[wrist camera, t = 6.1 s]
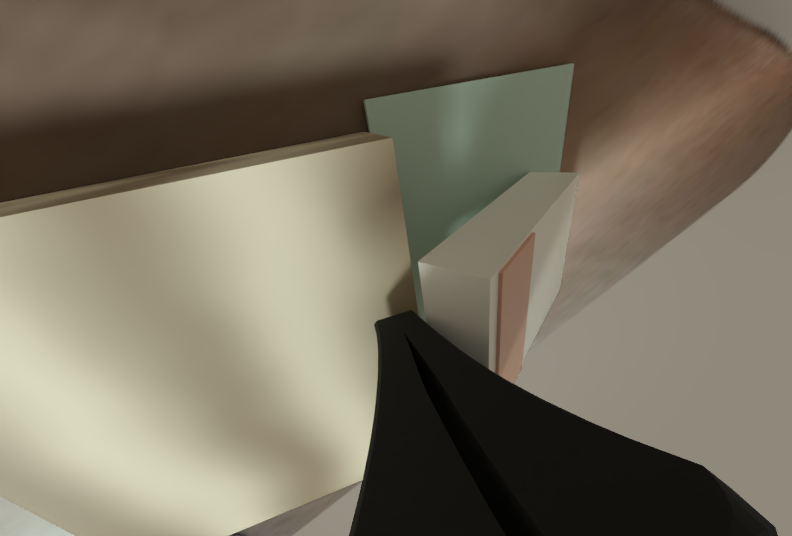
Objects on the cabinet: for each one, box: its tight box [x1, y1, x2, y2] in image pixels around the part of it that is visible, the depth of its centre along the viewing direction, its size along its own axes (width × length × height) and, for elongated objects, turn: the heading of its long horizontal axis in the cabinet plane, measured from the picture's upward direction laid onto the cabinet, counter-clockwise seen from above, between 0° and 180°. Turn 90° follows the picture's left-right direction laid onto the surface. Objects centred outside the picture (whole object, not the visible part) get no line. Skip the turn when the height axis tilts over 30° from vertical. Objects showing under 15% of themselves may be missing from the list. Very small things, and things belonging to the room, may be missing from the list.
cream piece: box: [0, 132, 419, 536], centre depth 12 cm, size 14×15×4 cm
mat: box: [363, 63, 574, 322], centre depth 14 cm, size 9×12×1 cm
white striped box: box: [418, 172, 579, 384], centre depth 11 cm, size 9×6×2 cm
